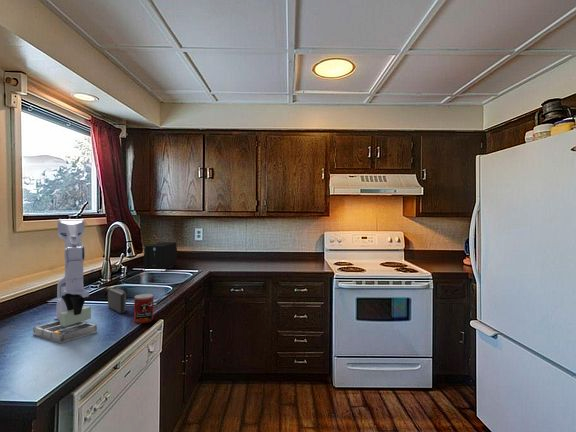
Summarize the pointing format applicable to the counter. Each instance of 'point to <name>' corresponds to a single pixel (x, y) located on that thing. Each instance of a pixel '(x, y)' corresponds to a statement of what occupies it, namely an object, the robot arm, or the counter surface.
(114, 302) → the leaning round-cornered charcoal block
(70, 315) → the pale green rectangular box
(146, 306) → the canned food
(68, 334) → the rack
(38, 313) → the counter surface
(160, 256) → the uninterruptible power supply
